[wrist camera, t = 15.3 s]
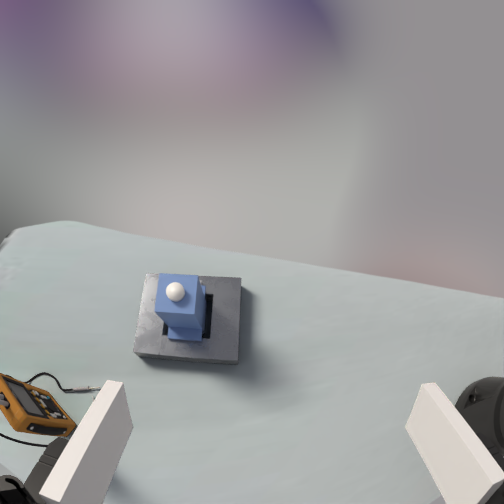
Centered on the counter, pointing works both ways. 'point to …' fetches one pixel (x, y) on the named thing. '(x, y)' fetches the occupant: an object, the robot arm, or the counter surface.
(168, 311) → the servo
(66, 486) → the robot arm
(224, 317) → the plate
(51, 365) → the counter surface
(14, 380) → the multimeter
